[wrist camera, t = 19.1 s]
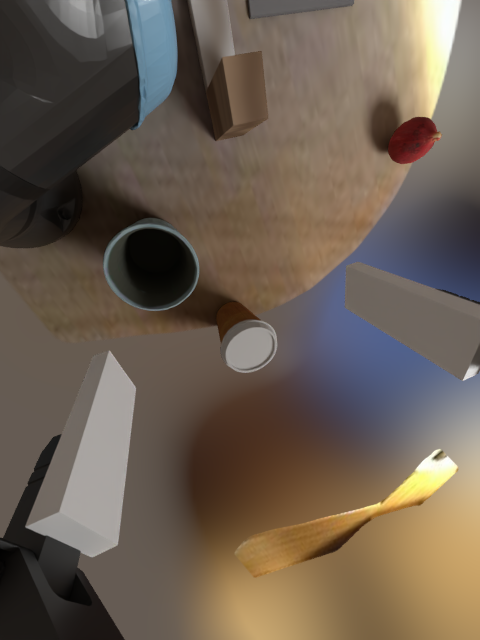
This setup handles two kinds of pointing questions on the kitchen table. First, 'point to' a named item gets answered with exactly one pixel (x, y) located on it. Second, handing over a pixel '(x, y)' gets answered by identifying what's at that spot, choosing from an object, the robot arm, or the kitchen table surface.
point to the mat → (291, 6)
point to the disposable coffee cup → (244, 338)
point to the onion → (413, 140)
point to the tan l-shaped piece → (227, 72)
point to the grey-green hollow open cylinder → (151, 265)
